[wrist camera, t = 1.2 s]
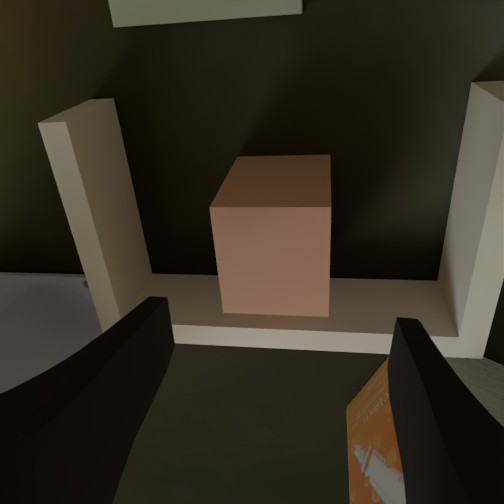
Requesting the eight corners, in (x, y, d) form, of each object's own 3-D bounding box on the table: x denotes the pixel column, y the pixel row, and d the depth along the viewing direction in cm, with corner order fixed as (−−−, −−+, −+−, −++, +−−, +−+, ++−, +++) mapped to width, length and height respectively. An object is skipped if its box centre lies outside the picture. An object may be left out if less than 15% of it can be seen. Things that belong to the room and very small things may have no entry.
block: (245, 244, 24) (223, 312, 19) (237, 156, 21) (209, 207, 16) (328, 245, 23) (328, 317, 18) (330, 154, 21) (331, 207, 16)
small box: (408, 323, 25) (472, 587, 14) (506, 363, 25) (644, 650, 14) (342, 406, 29) (351, 659, 18) (427, 440, 30) (486, 707, 19)
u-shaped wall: (137, 289, 27) (105, 339, 23) (90, 99, 21) (37, 123, 17) (457, 299, 24) (482, 358, 20) (502, 80, 18) (549, 104, 14)
